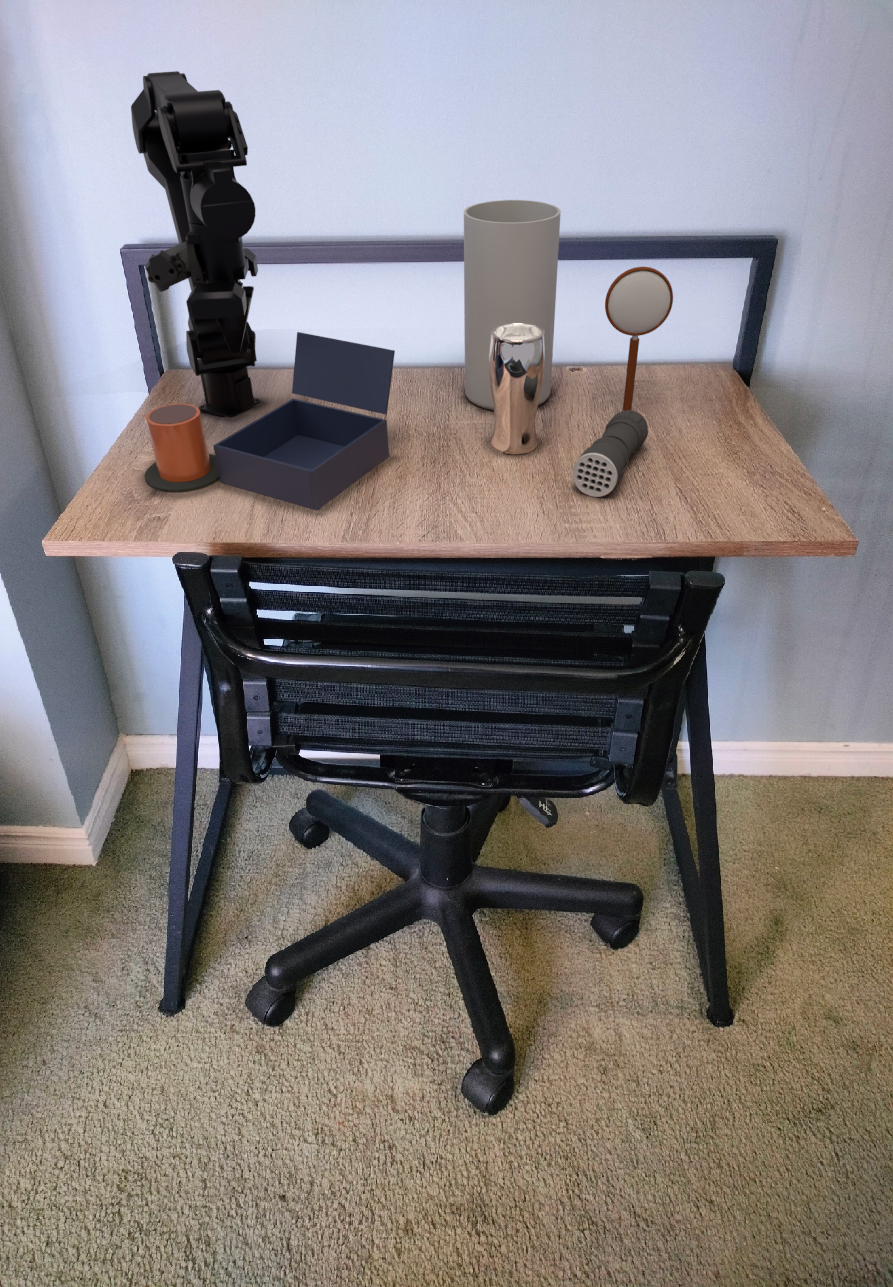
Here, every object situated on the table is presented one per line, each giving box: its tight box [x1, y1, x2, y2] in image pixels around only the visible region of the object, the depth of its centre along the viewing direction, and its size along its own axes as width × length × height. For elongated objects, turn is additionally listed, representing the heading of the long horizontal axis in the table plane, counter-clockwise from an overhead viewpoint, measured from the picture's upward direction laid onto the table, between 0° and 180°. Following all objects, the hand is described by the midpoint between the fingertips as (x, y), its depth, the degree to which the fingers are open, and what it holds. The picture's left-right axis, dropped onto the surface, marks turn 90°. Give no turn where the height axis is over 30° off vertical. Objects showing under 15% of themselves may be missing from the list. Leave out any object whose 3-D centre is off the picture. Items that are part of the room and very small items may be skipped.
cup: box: [145, 403, 211, 482], centre depth 110 cm, size 6×6×8 cm
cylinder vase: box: [463, 199, 561, 411], centre depth 123 cm, size 12×12×25 cm
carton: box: [213, 398, 390, 511], centre depth 112 cm, size 16×15×5 cm
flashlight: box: [571, 409, 649, 498], centre depth 111 cm, size 15×5×5 cm, turn 154°
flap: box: [291, 331, 396, 415], centre depth 114 cm, size 8×15×1 cm
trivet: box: [144, 453, 220, 494], centre depth 113 cm, size 10×10×1 cm
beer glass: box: [489, 323, 545, 456], centre depth 114 cm, size 7×7×15 cm
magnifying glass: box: [604, 266, 674, 411], centre depth 118 cm, size 9×2×20 cm, turn 88°
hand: (236, 352), depth 112 cm, fingers closed
